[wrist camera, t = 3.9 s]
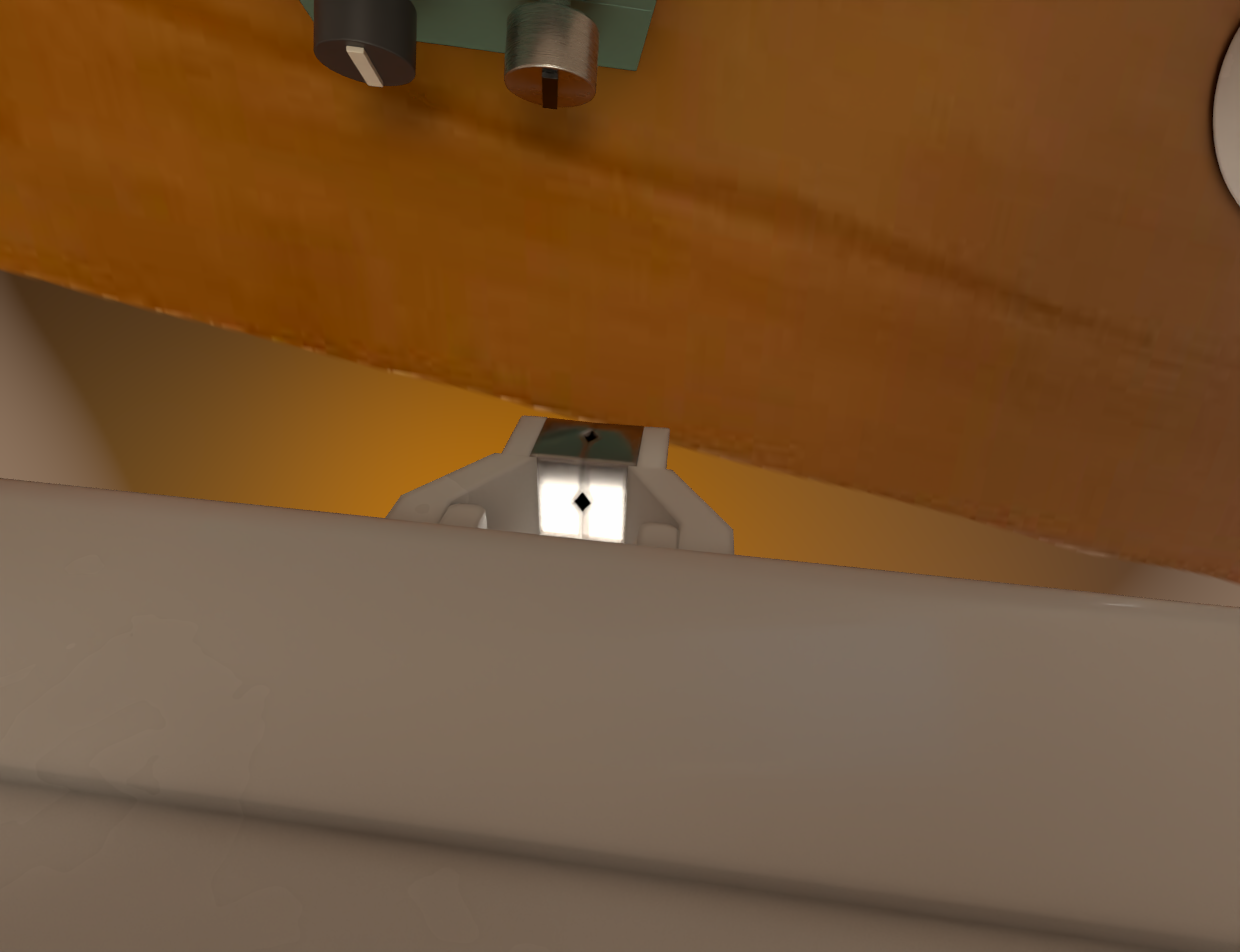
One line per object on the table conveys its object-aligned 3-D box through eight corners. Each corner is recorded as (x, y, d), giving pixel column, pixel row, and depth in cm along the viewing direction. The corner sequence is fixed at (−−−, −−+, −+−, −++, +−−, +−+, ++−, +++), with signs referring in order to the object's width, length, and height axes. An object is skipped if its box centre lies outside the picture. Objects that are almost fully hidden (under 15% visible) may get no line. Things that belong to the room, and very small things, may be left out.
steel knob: (592, 117, 27) (598, 79, 24) (506, 106, 27) (500, 66, 23) (601, -25, 26) (609, -87, 23) (513, -39, 26) (508, -103, 22)
